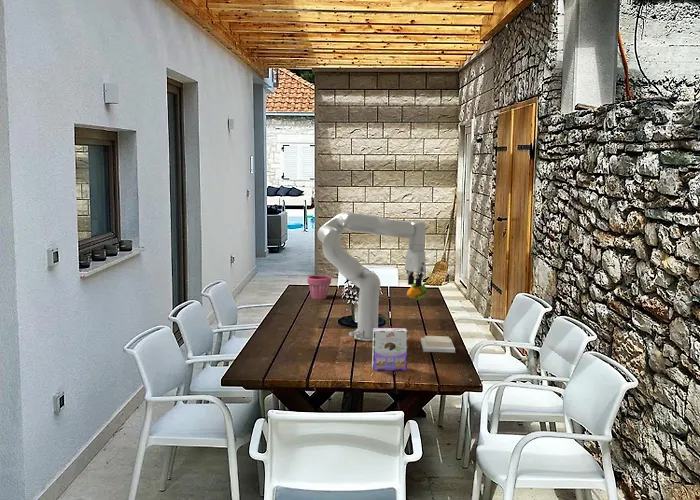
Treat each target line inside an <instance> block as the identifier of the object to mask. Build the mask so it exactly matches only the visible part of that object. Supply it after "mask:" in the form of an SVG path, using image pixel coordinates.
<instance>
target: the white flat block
mask: <svg viewBox="0 0 700 500" xmlns="http://www.w3.org/2000/svg"><path fill="white" fill-rule="evenodd" d="M420 343H421V347H422V352H424V353H432V352H433V353H452V354H453V353H454V354H455V353H456V348H455V346H454V343H453V341H452V339H451V338H450V336H447V335H446V336H439V335H438V336H437V335H424V337H421V338H420Z"/></svg>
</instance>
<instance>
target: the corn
mask: <svg viewBox="0 0 700 500" xmlns="http://www.w3.org/2000/svg"><path fill="white" fill-rule="evenodd" d="M415 285H416V282H414V283H413V284H412V285H410V288H408V290H407V292H406V297H407V298H408V299H411V300H413V299H415V301H418V300H420V299H422V298H424V297H425V295H426V292H427V288H426V287H427V286H426V285H425V284H422V283H421V286H419V287H416V286H415Z"/></svg>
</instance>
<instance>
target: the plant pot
mask: <svg viewBox="0 0 700 500" xmlns="http://www.w3.org/2000/svg"><path fill="white" fill-rule="evenodd" d="M307 284H308V287H309V292H310V297H311V299H313V300H325V299H327V296H328V293H329V288H330V284H332V277H331V276H329V275H323V274H322V275H319V274H317V275H314V274H313V275H308V276H307Z"/></svg>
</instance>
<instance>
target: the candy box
mask: <svg viewBox="0 0 700 500" xmlns="http://www.w3.org/2000/svg"><path fill="white" fill-rule="evenodd" d="M408 334H409V333H408V329H407V328H406V327H404V328H402V327H401V328H400V327H397V328H396V327H392V328H390V327H378V328H373V341H372V354H371V355H372V357H371V358H372V359H371V368H372V371H407V370H408V364H407V363H408Z"/></svg>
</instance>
